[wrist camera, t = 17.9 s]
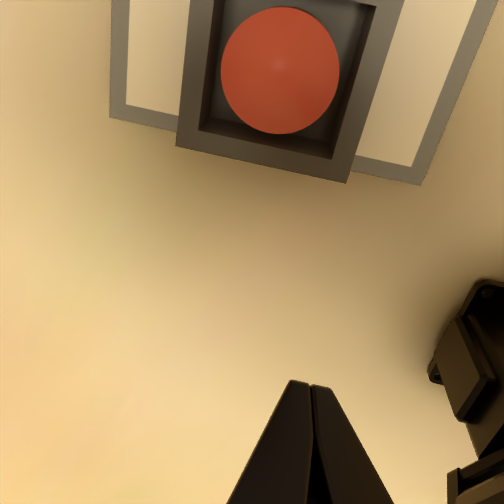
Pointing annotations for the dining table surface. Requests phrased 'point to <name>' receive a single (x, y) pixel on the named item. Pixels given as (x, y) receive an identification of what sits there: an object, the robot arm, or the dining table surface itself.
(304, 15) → the button
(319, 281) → the dining table surface
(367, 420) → the dining table surface
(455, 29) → the colouring board
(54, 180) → the dining table surface
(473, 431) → the robot arm
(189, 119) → the button housing
